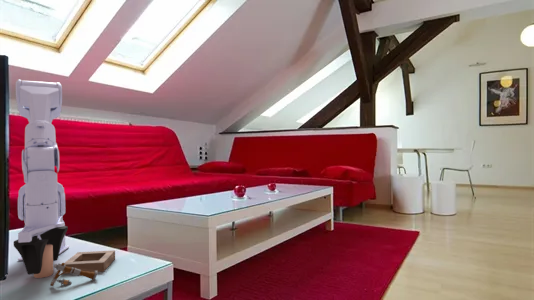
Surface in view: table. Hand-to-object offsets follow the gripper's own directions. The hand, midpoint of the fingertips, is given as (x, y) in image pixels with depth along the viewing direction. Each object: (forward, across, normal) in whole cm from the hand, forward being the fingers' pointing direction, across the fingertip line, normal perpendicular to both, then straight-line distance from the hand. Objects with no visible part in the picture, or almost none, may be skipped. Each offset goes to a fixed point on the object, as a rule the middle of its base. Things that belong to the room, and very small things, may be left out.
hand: (43, 266), depth 74 cm
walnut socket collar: (+2, +4, -8) cm, 9 cm away
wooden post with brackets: (+2, -6, -9) cm, 11 cm away
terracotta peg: (+2, 0, 0) cm, 2 cm away
